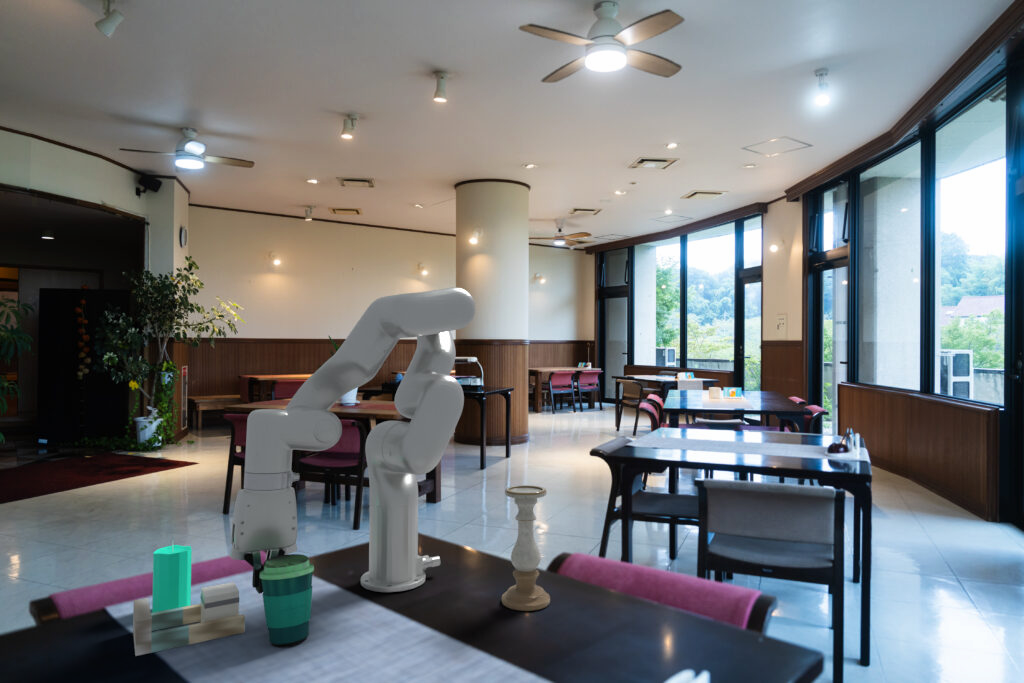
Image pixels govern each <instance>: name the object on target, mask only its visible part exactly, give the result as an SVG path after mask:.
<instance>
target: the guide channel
mask: <svg viewBox="0 0 1024 683" xmlns="http://www.w3.org/2000/svg"><path fill="white" fill-rule="evenodd" d="M132 614H133V618H132V620H133V621H132V636H133V644H134V646H133V648H134V655H135V657H137V656H143V655H146V654H152V653H155V652H156V653H157V652H161V651H166V650H169V649H175V648H179V647H184V646H188V645H194V644H198V643H203V642H207V641H210V640H211V641H213V640H217V639H222V638H225V637H230V636H234V635H239V634H243V633H245V632H246V627H245V626H246V625H245V624H246V616H245V614H243V613H241V614H239V615H236V616H232V617H227V618H222V619H217V620H212V621H207V622H202V623H201V603H197V604H191V606H186V607H180V608H175V609H170V610H164V611H159V612H154V613H152V610H151V606H150V602H149V598H148V597H146V598H139V599H135V600H133V613H132ZM198 622H199V623H198ZM183 625H184V626H183ZM178 626H179V627H178Z"/></svg>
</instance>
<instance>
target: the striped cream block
mask: <svg viewBox="0 0 1024 683" xmlns="http://www.w3.org/2000/svg"><path fill="white" fill-rule="evenodd" d="M200 604H201V621H200V623H202V622H207V621H212V620H217V619H222V618H227V617H232V616H236V615H240V614H239V613H240V612H239V611H240V610H239V609H240V590H239V588H238V587H237V585H236V583H235V582H234V581H232V582H227V583H222V584H216V585H210V586H205V587H201V591H200Z"/></svg>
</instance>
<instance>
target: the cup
mask: <svg viewBox="0 0 1024 683" xmlns="http://www.w3.org/2000/svg"><path fill="white" fill-rule="evenodd" d="M314 571H315V566H314V564H312V563H310V559H309V557H308V556H307V555H304V554H298V553H295V554H292V553H290V554H287V555H280V556H276V557H273V558H270V559H268V560H267V561H266V563H265V566H264V570H263V571H261V573H260V579H261V581H262V588H263V592H262V602H263V608H264V617H265V625H266V628H267V635H268V642H269V643H270V645H271V646H273V647H276V648H288V647H289V648H290V647H294V646H297V645H300V644H303V643H304V641H306V640H307V639H308V636H309V632H310V620H311V617H312V616H311V615H312V613H311V612H312V601H313V600H312V598H313V584H312V583H313V572H314Z"/></svg>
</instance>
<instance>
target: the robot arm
mask: <svg viewBox="0 0 1024 683" xmlns="http://www.w3.org/2000/svg"><path fill="white" fill-rule="evenodd" d="M475 315H476V302H475V300H474V298H473V296H472V295H471V294H470V292H469V291H467V290H466V289H464V288H462V287H458V286H455V287H447V288H442V289H441V288H440V289H433V290H428V291H420V292H419V291H418V292H408V293H407V292H406V293H400V294H399V293H398V294H393V295H385V296H382V297H379V298H377V299H375V300H374V301H373V302H372V303H370V304H369V306H368V307H367V309H366V310H365V311H364V312H363V314H362V315H361V317H360V319H359V320H358V321H357V322H356V324H355V325H354V326H353V328H352V330H351V331H350V333H348V336H347V337H346V338H345V340H344V341H343V343H342V344H341V346H340V347H339V348H338V349H337V351H336V352H335V353H334V354H333V355H332V356H331V357H330V358H328V359H327V361H325V362H324V363H323V364H322V365H321V366H320V367H319V368H318V369H317V370H316V371H315V372H314V373H312V375H310V376H309V377H308V378H307V379H306V380H305V381H304V383H302V385H301V386H300V387H299V388H298V390H297V391H296V392H295V393H294V395H293V396H292V397H291V400H290V401H289V402H288V404H287V405H286V406H285V408H284V409H281V408H280V409H279V408H277V409H276V408H270V409H269V408H267V409H265V408H263V409H262V408H261V409H255V410H252V411H251V412H250V413H249V414H248V415H247V421H246V437H245V438H246V439H245V440H246V442H245V456H244V475H243V476H244V478H243V488H242V489H238V491H237V495H236V498H235V504H234V508H233V516H232V524H231V530H230V531H231V532H230V533H231V534H230V543H231V548H230V552H229V557H230V558H231V559H232V560H236V561H237V560H238V561H239V560H240V561H246V563H247V564H249V565H250V566H251V567H252V579H251V580H252V582H251V583H252V584H251V585H252V588H253V589H255V591H256V592H257V593H258V594H263V588H262V581H261V579H260V573H261V571H263V570H264V566H265V563H266V561H267V560H268V559H270V558H273V557H276V556H280V555H288V554H292V553H295V552H297V551H298V547H297V538H298V512H297V499H296V491H295V488H294V487H292V486H293V482H296V481H297V482H299V481H300V473H299V472H297V473H296V472H293V470H292V468H293V467H292V463H293V451H294V450H296V451H297V450H298V451H310V452H321V451H326V450H328V449H331V448H332V447H334V446H335V445H336V444H337V443H338V442H339V441H340V438H342V433H343V425H342V421H341V420H340V419H339V417H338V416H337V415H336V414H335V413H334V412H332V411H330V410H331V409H332V407H333V406H334V405H335V403H337V402H338V401H339V400H340V399H341V398H342V397H344V396H345V395H347V394H348V393H350V392H352V391H354V390H355V389H358V388H359V387H363V385H365V384H367V383H368V382H370V381H371V380H373V379H374V377H375V376H376V375H377V373H378V372H379V370H380V369H381V368H382V366H383V364H384V362H385V361H386V359H387V358H388V357H389V355H390V354H391V352H392V350H393V349H394V348H395V347H396V344H397V343H398V342H399V340H400V339H404V338H405V339H407V338H416V344H417V345H416V349H415V351H414V354H413V357H412V359H411V361H410V363H409V365H408V367H407V369H406V371H405V373H404V375H403V378H402V380H401V381H400V384H399V385H398V387H397V390H396V393H395V395H394V406H395V409H396V411H397V412H398V413H399V414H400V415H402V416H403V417H405V418H407V419H411V420H410V422H408V421H400V420H387V421H383V422H381V423H378V424H376V425H375V426H374V427H373V428H372V429H371V430H370V432H369V434H368V435H367V438H366V441H365V449H364V450H365V458H366V464H367V471H368V480H369V481H368V482H369V510H368V512H369V520H368V521H369V522H368V524H369V528H368V530H369V533H368V535H369V536H368V539H369V541H368V545H369V546H368V571H366V572H364V573H363V574H362V576H361V577H360V585H361V586H362V588H364V589H366V590H369V591H372V592H378V593H397V592H404V591H409V590H412V589H415V588H418V587H420V586H422V585H423V584H424V583H425V582H426V572H425V571H426V570H427V568H434V567H439V566H440V565H441V558H440V556H439V555H436V556H429V554H425V555H422V556H421V555H419V485H418V479H417V476H420V475H425V474H426V475H427V473H430V472H431V471H433V470H434V469H436V468H435V467H437V465H438V464H439V463H440V461H441V460H442V457H443V456H444V455H445V452H446V449H447V447H448V445H449V443H450V440H451V438H452V436H453V434H454V432H455V429H456V427H457V425H458V422H459V420H460V418H461V416H462V413H463V411H464V410H463V409H464V405H465V404H464V403H465V396H464V390H463V387H462V385H461V383H460V382H459V380H457V379H456V378H455V377H453V376H451V372H452V370H453V368H454V366H455V361H456V357H457V356H456V352H457V351H456V346H455V342H454V338H453V334H452V332H451V331H456V330H460V329H463V328H465V327H467V326H468V325H469V324H471V322H472V321H473V319H474V318H475ZM262 551H264V552H265V551H266V556H265V561H264V562H263V563H262V556H261V552H262Z"/></svg>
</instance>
